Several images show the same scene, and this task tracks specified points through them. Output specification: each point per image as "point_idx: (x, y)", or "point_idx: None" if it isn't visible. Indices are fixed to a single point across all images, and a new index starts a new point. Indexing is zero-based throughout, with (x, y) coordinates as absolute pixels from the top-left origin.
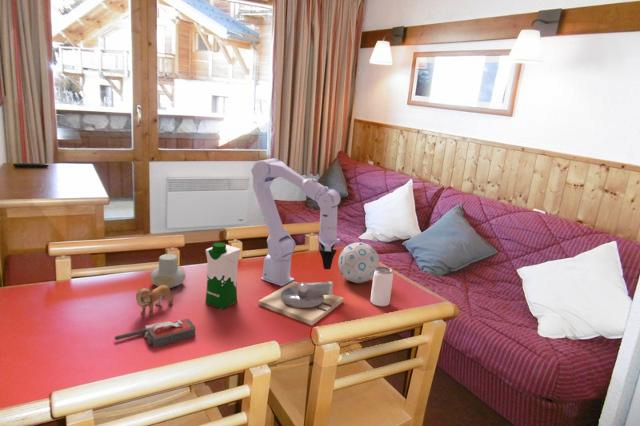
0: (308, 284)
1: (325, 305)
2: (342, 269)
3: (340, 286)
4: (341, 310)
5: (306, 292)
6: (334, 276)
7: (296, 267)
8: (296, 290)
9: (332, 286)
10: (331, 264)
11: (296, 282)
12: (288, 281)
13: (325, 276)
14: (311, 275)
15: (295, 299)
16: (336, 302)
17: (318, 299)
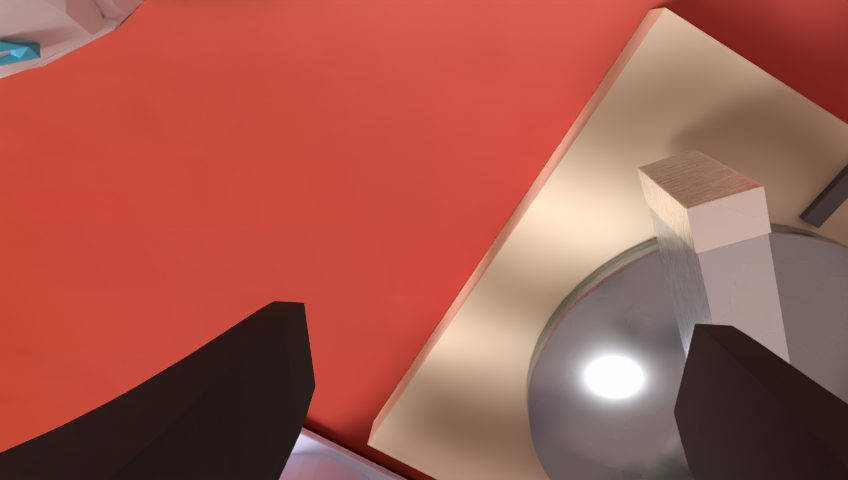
0: None
1: (844, 203)
2: (120, 18)
3: (281, 27)
4: (843, 29)
5: None
6: (66, 87)
7: (42, 399)
8: (619, 453)
9: (742, 178)
10: (803, 375)
11: (387, 426)
12: (345, 459)
13: (107, 176)
14: (141, 294)
15: None
16: (782, 90)
17: (813, 285)
